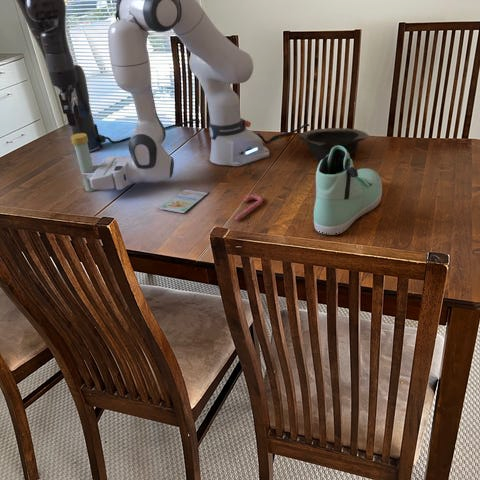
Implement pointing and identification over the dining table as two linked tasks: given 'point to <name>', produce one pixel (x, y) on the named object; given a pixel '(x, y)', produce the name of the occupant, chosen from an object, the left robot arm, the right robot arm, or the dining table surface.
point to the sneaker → (343, 192)
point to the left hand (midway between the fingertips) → (74, 121)
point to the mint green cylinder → (85, 163)
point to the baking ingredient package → (183, 201)
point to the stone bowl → (332, 140)
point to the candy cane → (250, 206)
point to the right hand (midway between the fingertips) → (85, 172)
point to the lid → (79, 139)
